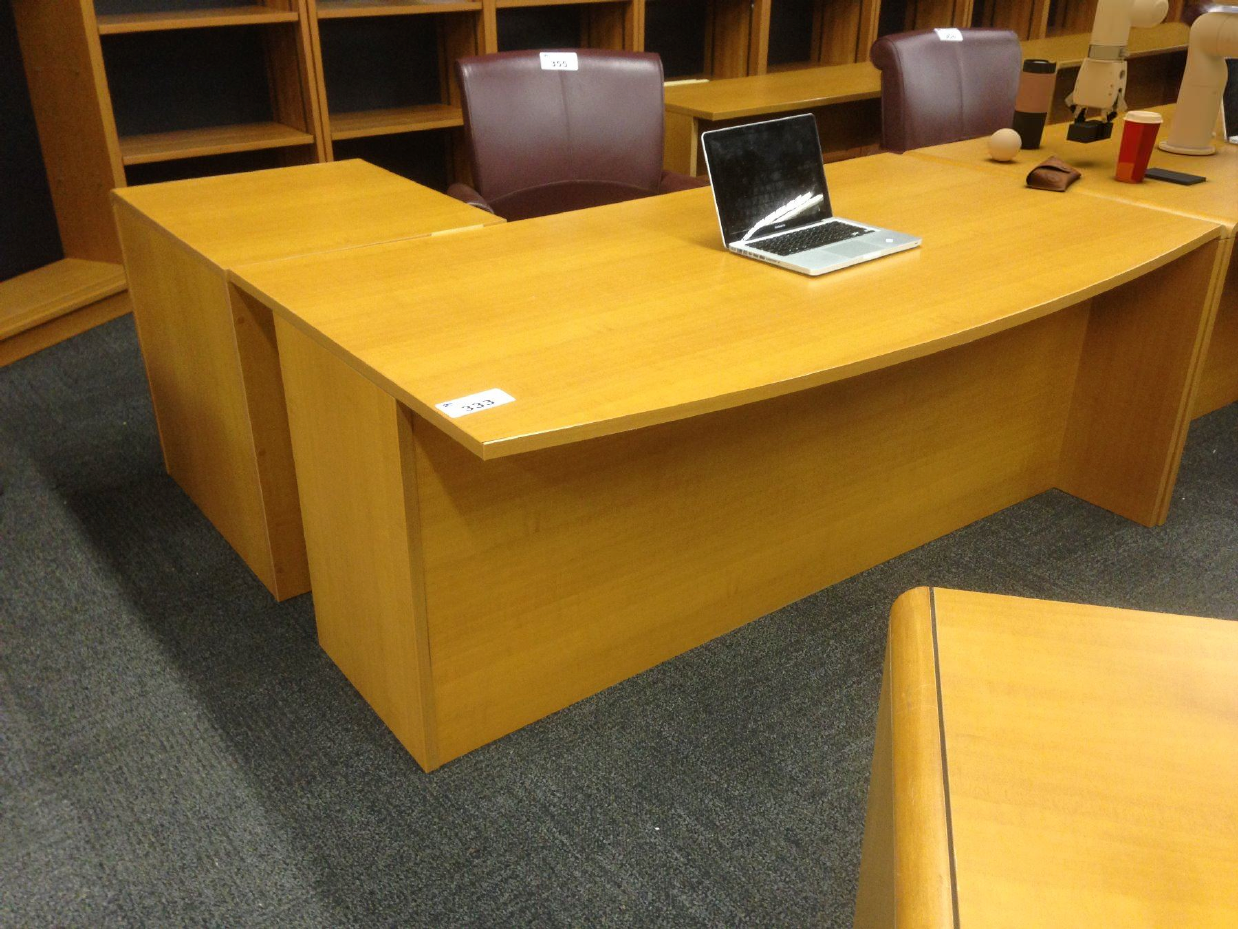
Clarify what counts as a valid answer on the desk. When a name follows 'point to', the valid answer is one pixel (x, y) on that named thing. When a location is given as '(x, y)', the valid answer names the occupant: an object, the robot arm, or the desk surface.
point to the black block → (1086, 131)
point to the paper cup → (1137, 145)
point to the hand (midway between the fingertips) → (1088, 137)
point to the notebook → (1173, 176)
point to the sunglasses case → (1052, 175)
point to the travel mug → (1033, 101)
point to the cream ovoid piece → (1004, 144)
